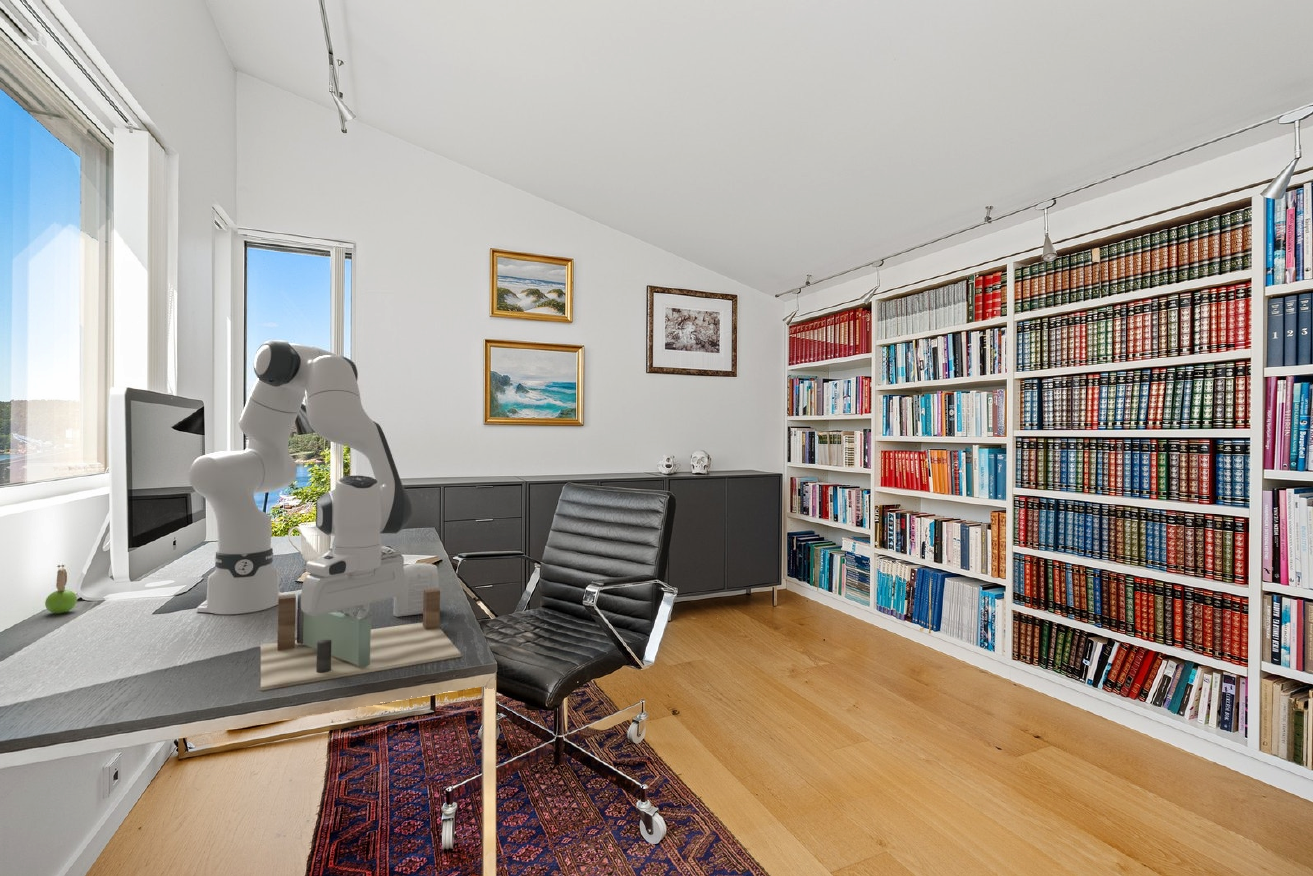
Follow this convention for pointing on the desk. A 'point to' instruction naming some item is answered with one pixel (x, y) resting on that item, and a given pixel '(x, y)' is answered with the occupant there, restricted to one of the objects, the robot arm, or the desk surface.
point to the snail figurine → (61, 595)
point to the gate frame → (307, 664)
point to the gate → (336, 634)
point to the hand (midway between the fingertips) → (356, 627)
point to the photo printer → (415, 588)
